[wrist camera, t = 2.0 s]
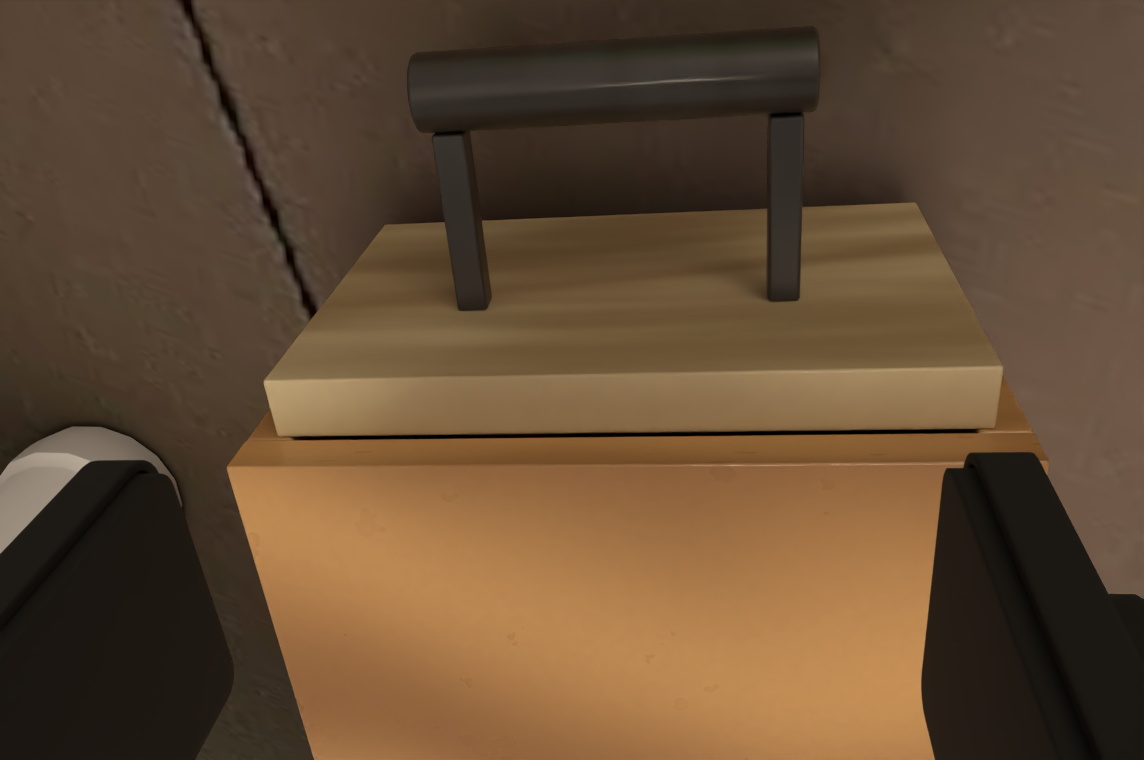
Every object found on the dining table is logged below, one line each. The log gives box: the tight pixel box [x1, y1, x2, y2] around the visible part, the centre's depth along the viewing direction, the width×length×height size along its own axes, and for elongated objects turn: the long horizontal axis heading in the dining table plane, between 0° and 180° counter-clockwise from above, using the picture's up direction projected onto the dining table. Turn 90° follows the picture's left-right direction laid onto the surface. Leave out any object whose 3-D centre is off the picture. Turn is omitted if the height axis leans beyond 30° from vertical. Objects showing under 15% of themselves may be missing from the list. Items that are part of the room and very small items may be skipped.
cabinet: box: [227, 374, 1050, 760], centre depth 25 cm, size 15×14×10 cm
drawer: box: [264, 26, 1003, 440], centre depth 23 cm, size 18×13×8 cm
